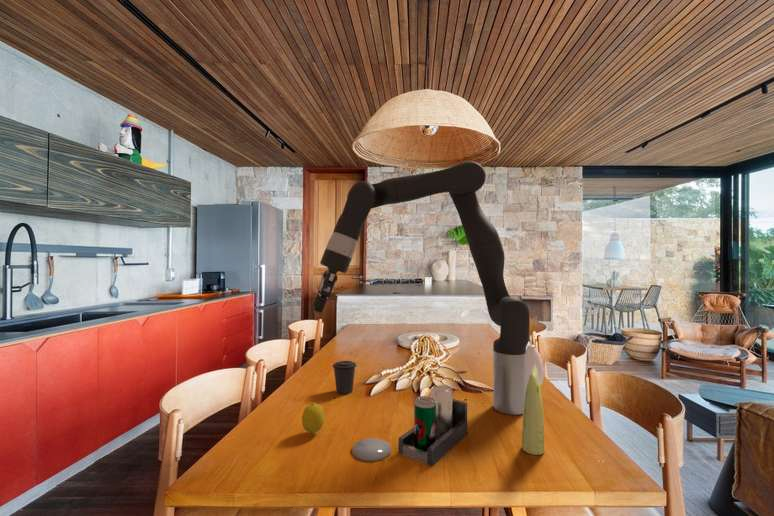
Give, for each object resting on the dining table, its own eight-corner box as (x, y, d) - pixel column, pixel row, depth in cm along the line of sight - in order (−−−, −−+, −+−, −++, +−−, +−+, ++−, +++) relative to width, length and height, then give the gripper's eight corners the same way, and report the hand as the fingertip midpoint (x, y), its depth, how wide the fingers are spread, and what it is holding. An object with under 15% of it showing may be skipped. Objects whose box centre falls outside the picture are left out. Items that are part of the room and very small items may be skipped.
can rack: (436, 424, 96) (436, 394, 96) (467, 433, 91) (467, 402, 91) (398, 452, 82) (398, 418, 82) (432, 466, 76) (432, 429, 76)
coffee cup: (361, 390, 121) (361, 361, 121) (346, 398, 114) (346, 367, 114) (342, 385, 125) (342, 357, 125) (327, 393, 118) (327, 363, 119)
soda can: (435, 458, 80) (435, 404, 80) (413, 455, 81) (413, 402, 81) (436, 446, 85) (436, 396, 85) (415, 444, 86) (415, 394, 86)
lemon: (327, 430, 92) (327, 400, 92) (316, 441, 87) (317, 408, 87) (309, 427, 94) (309, 397, 94) (297, 437, 89) (297, 405, 89)
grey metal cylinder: (438, 429, 93) (438, 383, 93) (456, 435, 90) (456, 388, 90) (428, 437, 89) (428, 389, 89) (446, 443, 86) (446, 394, 86)
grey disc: (369, 437, 89) (369, 434, 89) (398, 448, 84) (398, 446, 84) (344, 452, 82) (344, 449, 82) (374, 466, 76) (374, 463, 76)
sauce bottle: (515, 389, 122) (514, 337, 122) (525, 384, 127) (525, 334, 127) (537, 396, 116) (537, 341, 116) (547, 390, 121) (547, 337, 121)
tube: (551, 455, 81) (551, 370, 81) (531, 458, 79) (531, 371, 80) (535, 443, 86) (535, 362, 86) (517, 445, 85) (516, 364, 85)
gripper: (355, 257, 89) (332, 318, 87) (349, 257, 103) (328, 310, 101) (327, 246, 87) (303, 308, 86) (324, 248, 101) (303, 301, 100)
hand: (317, 309), depth 94 cm, fingers open, 8 cm apart
